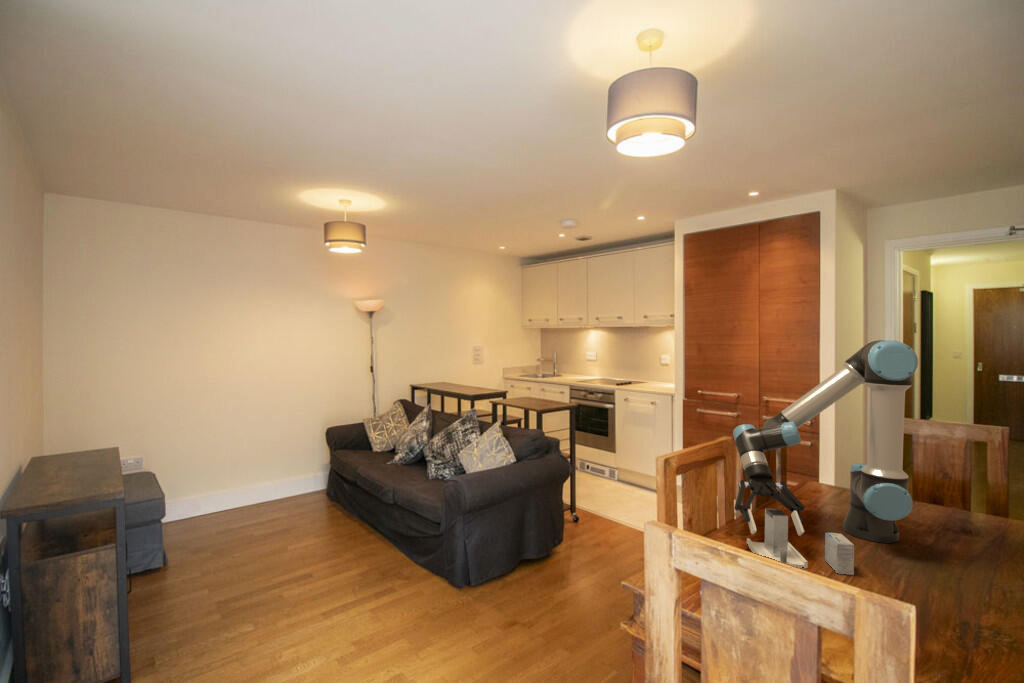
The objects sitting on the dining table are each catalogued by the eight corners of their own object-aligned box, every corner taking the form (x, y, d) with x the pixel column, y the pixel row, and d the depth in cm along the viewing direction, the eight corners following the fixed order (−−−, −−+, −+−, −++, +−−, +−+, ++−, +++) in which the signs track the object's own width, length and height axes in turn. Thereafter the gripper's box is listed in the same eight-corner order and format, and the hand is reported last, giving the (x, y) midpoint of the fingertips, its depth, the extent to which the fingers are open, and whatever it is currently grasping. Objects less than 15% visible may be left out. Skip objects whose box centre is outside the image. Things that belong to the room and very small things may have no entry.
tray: (787, 547, 152) (788, 534, 152) (807, 568, 139) (807, 554, 139) (746, 544, 154) (746, 531, 154) (762, 565, 140) (762, 551, 140)
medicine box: (854, 576, 135) (855, 544, 135) (836, 574, 136) (836, 543, 136) (841, 563, 143) (841, 533, 142) (824, 561, 143) (824, 531, 143)
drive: (778, 548, 149) (779, 508, 149) (787, 557, 143) (788, 516, 143) (764, 547, 150) (764, 508, 150) (772, 556, 144) (773, 515, 144)
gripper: (791, 475, 162) (815, 539, 147) (714, 473, 164) (730, 536, 149) (800, 463, 157) (826, 529, 142) (720, 461, 158) (738, 526, 143)
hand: (777, 533), depth 145 cm, fingers open, 13 cm apart
